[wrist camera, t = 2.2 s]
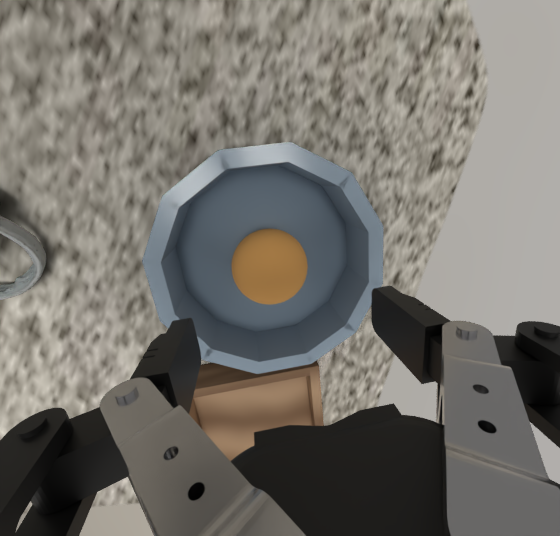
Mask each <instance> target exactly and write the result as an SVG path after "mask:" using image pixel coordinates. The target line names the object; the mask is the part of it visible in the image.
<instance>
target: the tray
mask: <svg viewBox="0 0 560 536" xmlns="http://www.w3.org/2000/svg"><path fill="white" fill-rule="evenodd" d="M189 415H190V416H191V417H192V418H193V420H194V421H195V422H196V423H197V424H198V425H199V426H200V428H201V429H202V430H203V431H204V432H205V433H206V434H207V435H208V437H209V438H210V439H211V440H212V441H213V442H214V443H215V444H216V446H217V447H218V448H219V449H220V450H221V451H222V452H223V454H224V455H225V456H226V457H227V458H228V459H229V460H230V461H231V460H232V459H234V458H235V457H236V456H237V455H239V454H240V453H242V452H243V451H245V450H247V449H248V448H250V447H252V446H254V432H258V431H263V430H268V429H272V428H277V427H282V426H287V425H310V426H324V424H323V412H322V399H321V387H320V375H319V365H318V363H317V360H316V361H315V362H313V363H312V364H308V365H302V366H297V367H292V368H287V369H282V370H276V371H271V372H266V373H261V374H255V373H251V372H247V371H243V370H240V369H236V368H232V367H228V366H224V365H220V364H217V363H210V364H204V365H200V369H199V374H198V378H197V382H196V387H195V391H194V395H193V400H192V404H191V408H190V413H189Z"/></svg>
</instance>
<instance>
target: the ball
mask: <svg viewBox="0 0 560 536" xmlns="http://www.w3.org/2000/svg"><path fill="white" fill-rule="evenodd" d="M231 268H232V275H233V279H234V281H235V284H236V285H237V287H238V289H239V290H240V291H241V292H242V293H243V294H244V295H245V296H246V297H248V298H249V299H251V300H252V301H255V302H257V303H261V304H268V305H271V304H278V303H282V302H285V301H287V300H288V299H290V298H292V297H293V296H294V295H295V294H296V293H297V292H298V291H299V290H300V289H301V287H302V286H303V284H304V281H305V279H306V275H307V269H308V264H307V257H306V254H305V252H304V249H303V248H302V246H301V244H300V243H299V242H298V241H297V240H296V239H295V238H294V237H293V236H291V235H290V234H288V233H286V232H284V231H282V230H278V229H270V228H269V229H261V230H258V231H255V232H253V233H251V234H249V235H248V236H246V237H245V238H244V239H243V240H242V241H241V242H240V243H239V244H238V246H237V248H236V250H235V252H234V254H233V258H232V266H231Z"/></svg>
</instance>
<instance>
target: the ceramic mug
mask: <svg viewBox="0 0 560 536" xmlns="http://www.w3.org/2000/svg"><path fill="white" fill-rule="evenodd" d="M0 233H1V234H2V235H4V236H5V237H7V238H9V239H11V240H12V241H14V242H15V243H17V244H18V245H20V246H21V247H23V248H24V249H25V251H26V252H27V253H28V254H29V256H30V257H31V260H32V261H33V262H34V263H33V265H32V266H31V267H30V269H29V270H28V271H27V272H26V273H25V274H24V275H22V276H20V277H17V278H16V280H15V283H12V284H5V285H0V300H2V299H6V298H11V297H14V296H17V295H20V294H22V293H24V292H26V291H27V290H29V289H30V288H31V287H32V286H33V285H34V284H35V283H36V282H37V281H38V280H39V278H40V277H41V275H42V273H43V270H44V268H45V265H46V253H45V250H44V248H43V247H42V245H41V243H40V242H39V241H38V239H37V238H36V237H35V236H34V235H32V234H31V233H30V232H28V231H27V230H25V229H24V228H22V227H20V226H19V225H17V224H15V223H14V222H12V221H10V220H8V219H6V218H4V217H2V216H0Z"/></svg>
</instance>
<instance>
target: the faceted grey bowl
mask: <svg viewBox="0 0 560 536" xmlns="http://www.w3.org/2000/svg"><path fill="white" fill-rule="evenodd" d="M269 228H270V229H278V230H282V231H284V232H286V233H288V234H290V235H291V236H293V237H294V238H295V239H296V240H297V241H298V242H299V243H300V244H301V246H302V248H303V249H304V252H305V254H306V257H307V264H308V269H307V275H306V279H305V281H304V284H303V286H302V287H301V289H300V290H299V291H298V292H297V293H296V294H295V295H294V296H293V297H292V298H290V299H288V300H287V301H285V302H282V303H278V304H271V305H268V304H261V303H257V302H255V301H252V300H251V299H249V298H248V297H246V296H245V295H244V294H243V293H242V292H241V291H240V290H239V289H238V287H237V285H236V284H235V281H234V279H233V275H232V268H231V266H232V258H233V254H234V252H235V250H236V248H237V246H238V244H239V243H240V242H241V241H242V240H243V239H244V238H245V237H246V236H248V235H249V234H251V233H253V232H255V231H258V230H261V229H269ZM142 262H143V265H144V269H145V272H146V276H147V279H148V282H149V286H150V289H151V292H152V296H153V299H154V303H155V306H156V309H157V313H158V316H159V319H160V321H161V322H162V323H163V324H164V325H165V326H166V327H167V328H169V327H170V325H171V323H172V321H174V320H180V319H186V318H192V320H193V322H194V326H195V330H196V334H197V338H198V343H199V347H200V352H201V359H202V360H205V361H209V362H213V363H217V364H220V365H224V366H228V367H232V368H236V369H240V370H243V371H247V372H251V373H255V374H261V373H266V372H271V371H276V370H282V369H287V368H292V367H297V366H302V365H308V364H312V363H313V362H315V361H316V360H317V359H319V358H320V357H322V356H323V355H324V354H326V353H327V352H329V351H330V350H331V349H333V348H334V347H336V346H337V345H339V344H340V343H341V342H343V341H344V340H346V339H347V338H348V337H350V336H351V335H353V334H354V333H355V332H356V331H357V329H358V327H359V326H360V324H361V322H362V320H363V318H364V317H365V315H366V313H367V311H368V309H369V308H370V306H371V304H372V296H371V295H372V290H373V289H374V288H379V287H381V286H382V284H383V225H382V223H381V221H380V220H379V218H378V216H377V214H376V213H375V211H374V209H373V208H372V206H371V204H370V203H369V201H368V199H367V197H366V196H365V194H364V192H363V191H362V189H361V187H360V186H359V184H358V182H357V180H356V179H355V177H354V175H353V174H352V172H350V171H348V170H346V169H344V168H342V167H340V166H338V165H336V164H334V163H332V162H330V161H328V160H326V159H324V158H322V157H320V156H318V155H316V154H314V153H312V152H310V151H308V150H306V149H304V148H302V147H300V146H298V145H296V144H294V143H292V142H286V143H277V144H268V145H258V146H249V147H240V148H231V149H222V150H218V151H216V152H215V153H214V154H213V155H211V156H210V157H209V158H208V159H207V160H205V161H204V162H203V163H202V164H200V165H199V166H198V167H197V168H196V169H194V170H193V171H192V172H191V173H190V174H188V175H187V176H186V177H185V178H183V179H182V180H181V181H180V182H179V183H177V184H176V185H175V186H174V187H172V188H171V189H170V190H169V191H168V192H166V193H165V194H164V195H163V196H162V198H161V201H160V204H159V207H158V211H157V214H156V217H155V221H154V224H153V227H152V230H151V234H150V237H149V240H148V244H147V247H146V250H145V253H144V257H143V260H142Z"/></svg>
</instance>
